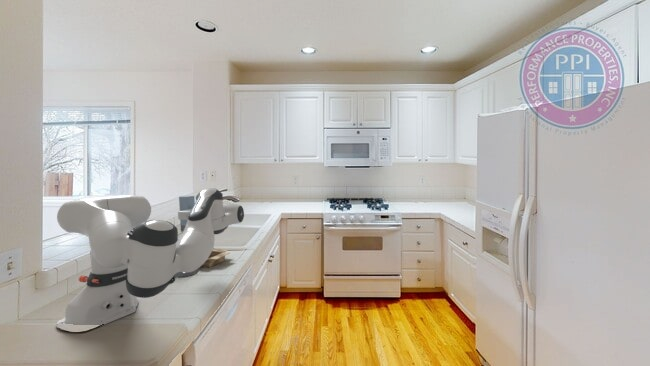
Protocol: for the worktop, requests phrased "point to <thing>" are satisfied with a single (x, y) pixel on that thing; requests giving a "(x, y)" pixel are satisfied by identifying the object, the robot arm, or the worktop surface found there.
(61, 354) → the worktop surface
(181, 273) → the coaster
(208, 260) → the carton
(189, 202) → the box
